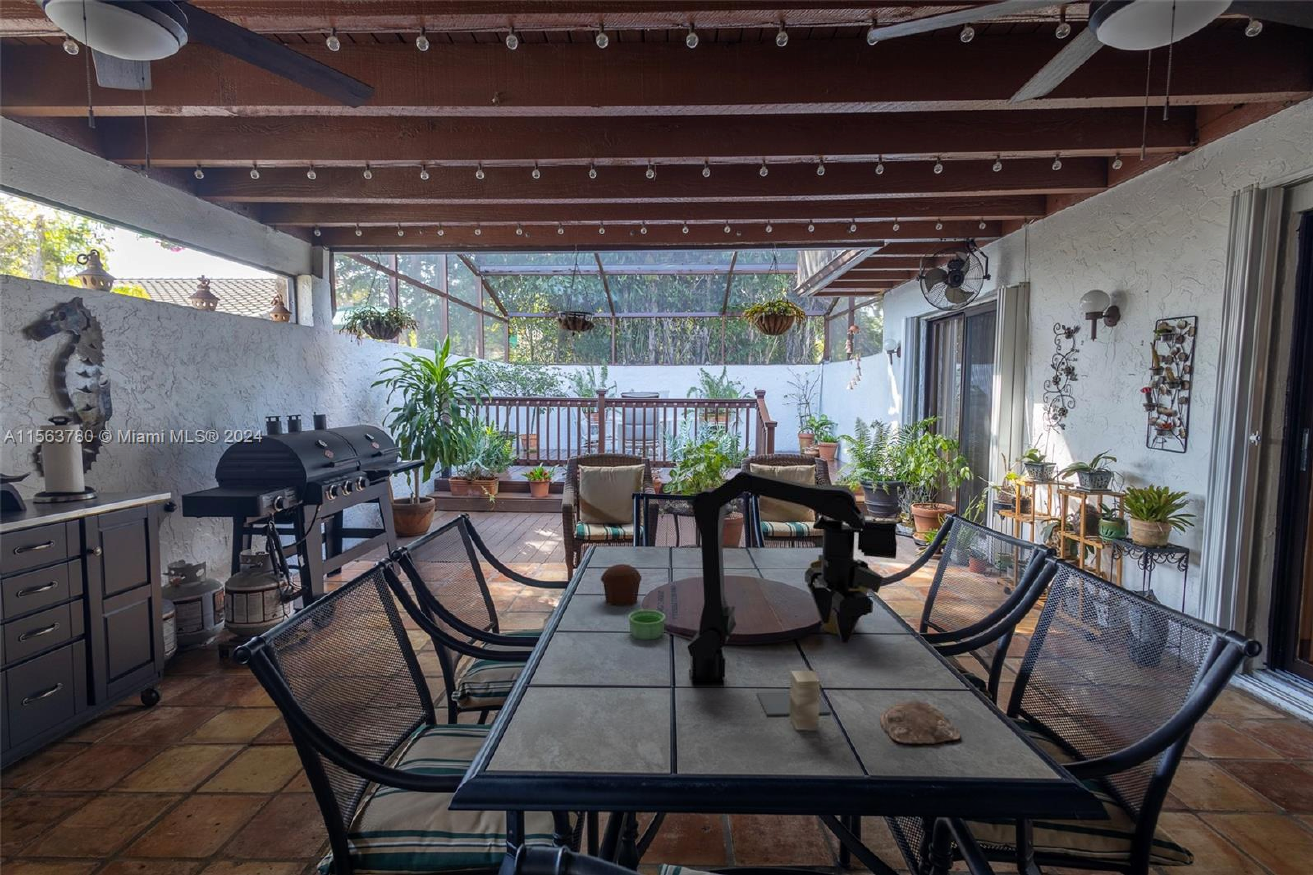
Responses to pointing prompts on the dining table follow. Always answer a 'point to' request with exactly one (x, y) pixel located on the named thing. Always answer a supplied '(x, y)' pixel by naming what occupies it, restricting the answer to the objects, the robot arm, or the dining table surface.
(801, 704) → the oak block
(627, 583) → the muffin
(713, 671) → the robot arm
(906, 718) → the shell
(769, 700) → the mat
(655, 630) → the ramekin
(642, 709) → the dining table surface
